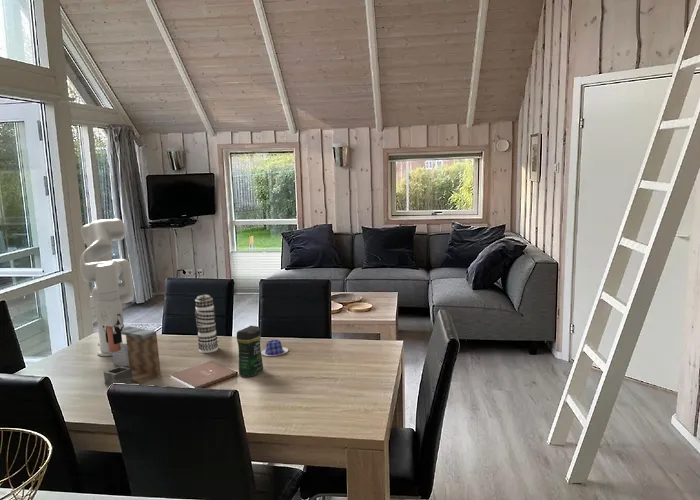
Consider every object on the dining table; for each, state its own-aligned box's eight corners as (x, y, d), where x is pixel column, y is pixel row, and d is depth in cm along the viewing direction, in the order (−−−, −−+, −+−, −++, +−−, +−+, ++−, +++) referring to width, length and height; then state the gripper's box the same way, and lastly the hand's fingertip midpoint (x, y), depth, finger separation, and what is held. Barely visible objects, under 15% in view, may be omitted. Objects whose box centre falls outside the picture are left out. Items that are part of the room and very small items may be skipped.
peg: (107, 351, 212) (103, 320, 210) (116, 348, 215) (113, 318, 213) (113, 352, 209) (109, 321, 208) (122, 349, 213) (119, 319, 211)
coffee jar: (252, 378, 211) (248, 331, 208) (236, 376, 214) (232, 330, 212) (267, 369, 220) (263, 324, 217) (250, 367, 223) (247, 323, 220)
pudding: (283, 346, 249) (282, 335, 248) (291, 354, 238) (291, 342, 237) (257, 351, 244) (256, 340, 243) (264, 359, 233) (263, 347, 232)
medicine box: (135, 363, 236) (133, 343, 235) (128, 367, 232) (126, 347, 231) (120, 362, 239) (118, 342, 237) (113, 365, 234) (111, 346, 233)
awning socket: (97, 381, 216) (91, 337, 214) (133, 368, 230) (128, 326, 227) (124, 390, 206) (119, 343, 204) (160, 375, 220) (156, 331, 217)
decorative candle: (223, 347, 251) (218, 294, 247) (208, 354, 243) (203, 299, 239) (209, 345, 256) (204, 292, 252) (193, 351, 248) (188, 297, 244)
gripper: (87, 296, 211) (92, 342, 213) (112, 299, 201) (118, 348, 204) (105, 292, 217) (110, 337, 219) (130, 295, 208) (136, 342, 210)
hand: (114, 342), depth 212 cm, fingers closed on peg, 4 cm apart
